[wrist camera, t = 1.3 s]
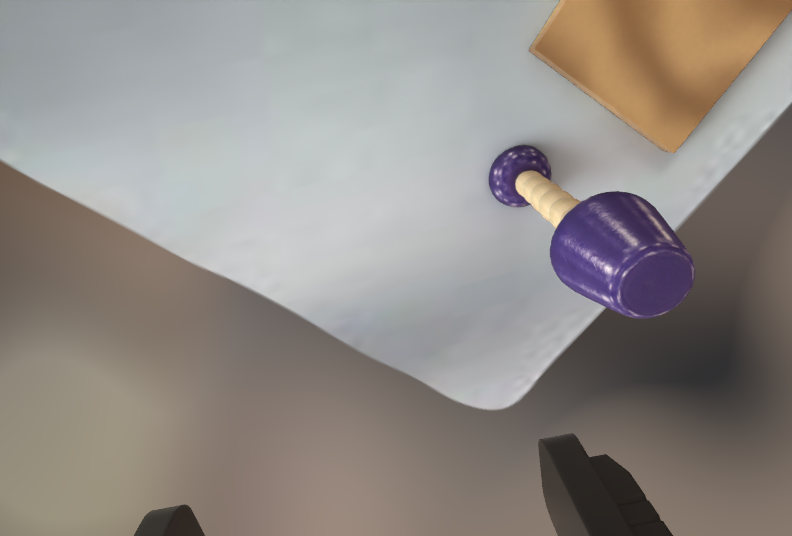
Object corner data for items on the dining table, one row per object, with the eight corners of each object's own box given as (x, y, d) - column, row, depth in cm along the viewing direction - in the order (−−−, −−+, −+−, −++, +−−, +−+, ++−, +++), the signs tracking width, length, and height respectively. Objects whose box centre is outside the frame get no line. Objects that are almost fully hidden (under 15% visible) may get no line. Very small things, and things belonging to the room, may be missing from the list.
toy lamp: (539, 215, 31) (698, 343, 16) (476, 210, 31) (576, 337, 15) (555, 147, 29) (752, 218, 14) (488, 141, 29) (614, 208, 14)
